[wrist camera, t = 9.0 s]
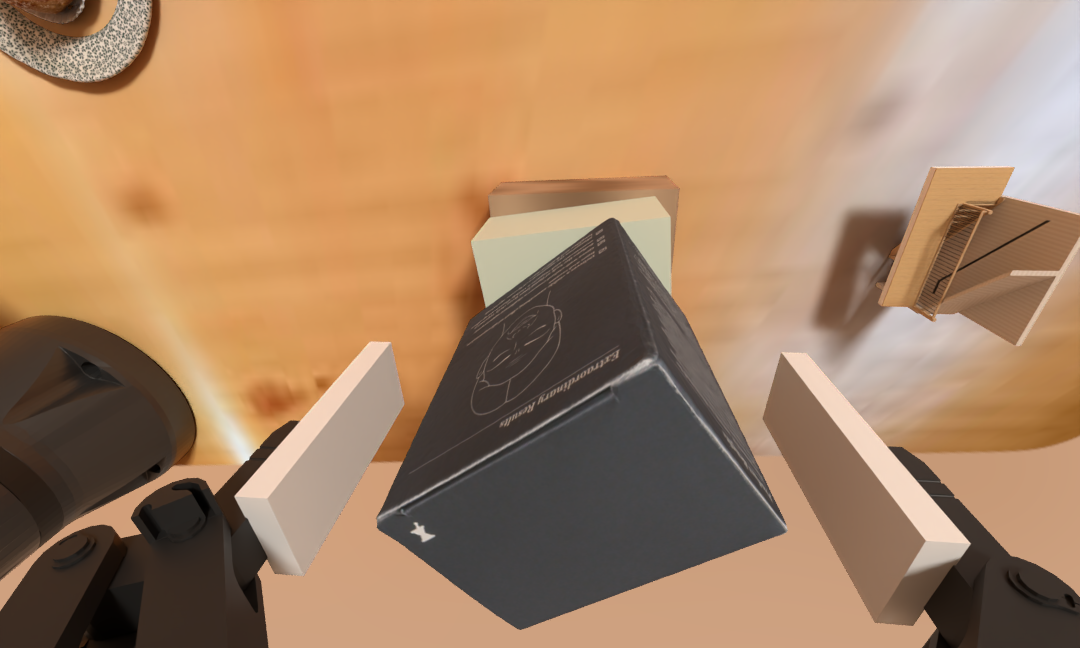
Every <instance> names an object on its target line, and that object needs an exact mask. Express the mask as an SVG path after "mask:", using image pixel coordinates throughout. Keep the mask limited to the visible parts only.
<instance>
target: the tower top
mask: <svg viewBox="0 0 1080 648" xmlns="http://www.w3.org/2000/svg"><path fill="white" fill-rule="evenodd" d="M609 218H615V219H616V220H618V221H619V222H620V224H621V226H622V227H623V228H624V229H625V231H626V233H627V234H628V236H629V237H630V239H631V240H632V241H633V243H634V244H635V245H636V247H637V248H638V250H639V251H640V253H641V254H642V256H643V257H644V258H645V260H646V261H647V263H648V264H649V266H650V267H651V269H652V270H653V271H654V273H655V274H656V275H657V277H658V278H659V280H660V281H661V283H662V284H663V286H664V287H665V288H666V290H667V291H668V292H669V294H670V296H671V217H670V215H669V214H668V213H667V211H666V210H665V209H664V207H663V206H662V205H661V203H660V202H659V201H658V199H657V198H656V197H655V196H651V197H644V198H636V199H628V200H621V201H613V202H605V203H598V204H590V205H582V206H575V207H567V208H559V209H552V210H544V211H536V212H529V213H521V214H514V215H506V216H498V217H491V218H489V219H488V220H487V222H486V223H485V224H484V225H483V227H482V228H481V229H480V230H479V232H478V233H477V234H476V235H475V237H474V238H473V239H472V241H471V245H472V249H473V253H474V258H475V262H476V266H477V271H478V275H479V279H480V284H481V288H482V293H483V297H484V301H485V306H486V307H488V306H489V305H491V304H492V303H493V302H495V301H496V300H497V299H499V298H500V297H502V296H503V295H504V294H505V293H507V292H508V291H510V290H511V289H512V288H514V287H515V286H516V285H518V284H519V283H520V282H522V281H523V280H524V279H526V278H527V277H529V276H530V275H531V274H533V273H534V272H536V271H537V270H538V269H539V268H541V267H542V266H544V265H545V264H546V263H548V262H549V261H550V260H552V259H553V258H555V257H556V256H557V255H558V254H560V253H561V252H563V251H564V250H565V249H567V248H568V247H570V246H571V245H572V244H574V243H575V242H576V241H578V240H579V239H581V238H582V237H584V236H585V235H586V234H587V233H588V232H590V231H591V230H593V229H594V228H596V227H597V226H598V225H600V224H601V223H603V222H604V221H606V220H607V219H609Z"/></svg>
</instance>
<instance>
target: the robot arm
mask: <svg viewBox="0 0 1080 648" xmlns="http://www.w3.org/2000/svg"><path fill="white" fill-rule="evenodd" d="M403 406H404V399H403V395H402V390H401V386H400V381H399V377H398V372H397V368H396V363H395V359H394V354H393V350H392V345H391V342H369V343H368V344H367V346H366V347H365V348H364V349H363V350H362V351H361V352H360V354H359V355H358V356H357V357H356V358H355V359H354V360H353V362H352V363H351V364H350V365H349V366H348V367H347V368H346V370H345V371H344V372H343V373H342V374H341V375H340V376H339V378H338V379H337V380H336V381H335V382H334V383H333V384H332V386H331V387H330V388H329V389H328V390H327V391H326V392H325V393H324V395H323V396H322V397H321V398H320V399H319V400H318V401H317V403H316V404H315V405H314V406H313V407H312V408H311V409H310V411H309V412H308V413H307V414H306V415H305V416H304V417H303V419H302V420H301V421H289V422H288V423H286V424H285V425H283V426H282V427H280V428H279V429H277V430H276V431H274V432H273V433H272V434H271V435H270V436H269V437H268V438H267V439H266V440H265V441H264V442H263V444H262V445H261V446H260V449H257V450H256V451H255V452H254V453H253V454H252V455H251V456H250V459H249V461H246V462H245V463H244V464H243V465H242V466H241V467H240V468H239V469H238V471H237V472H236V473H235V474H234V475H233V476H232V477H231V478H230V479H229V480H228V481H227V483H225V484H224V486H223V487H222V488H221V489H220V490H219V491H218V492H217V493H216V494H215V495H213V493H212V492H211V490H210V488H209V486H208V485H207V483H206V481H204V480H202V479H199V478H187V479H183V480H179V481H176V482H172V483H170V484H168V485H166V486H164V487H162V488H160V489H158V490H156V491H155V492H154V493H152V494H151V495H149V496H148V497H146V498H145V499H144V500H143V501H142V502H141V503H140V504H139V505H138V506H137V507H136V508H135V510H134V512H133V515H132V517H131V519H132V521H133V522H134V524H135V525H136V526H137V528H138V529H139V531H140V532H141V533H142V534H139V535H134V536H130V537H125V538H120V537H119V535H118V534H117V533H116V532H115V530H114V529H113V528H112V527H111V526H107V525H97V526H91V527H88V528H85V529H82V530H80V531H77V532H74V533H72V534H71V535H69V536H67V537H65V538H63V539H62V540H60V541H58V542H57V543H55V544H54V545H53V546H51V547H50V548H49V549H48V550H46V551H45V552H44V553H43V554H42V555H41V556H40V557H39V558H38V559H37V560H36V561H35V563H34V564H33V565H32V567H31V568H30V569H29V571H28V572H27V574H26V575H25V577H24V578H23V579H22V581H21V582H20V584H19V585H18V587H17V588H16V589H15V591H14V592H13V594H12V596H11V597H10V598H9V600H8V601H7V602H6V604H5V605H4V607H3V608H2V610H1V611H0V648H268V639H267V631H266V622H265V613H264V605H263V595H262V587H261V581H260V578H259V576H258V574H257V573H258V571H259V570H260V568H261V567H262V565H263V564H264V562H265V561H266V559H267V560H268V562H269V564H270V566H271V568H272V569H273V571H274V573H275V574H286V575H298V576H304V575H305V573H306V571H307V570H308V568H309V566H310V565H311V563H312V561H313V560H314V558H315V556H316V554H317V553H318V551H319V549H320V547H321V546H322V544H323V542H324V541H325V539H326V537H327V535H328V534H329V532H330V530H331V529H332V527H333V525H334V524H335V522H336V520H337V519H338V517H339V515H340V513H341V512H342V510H343V508H344V507H345V505H346V503H347V501H348V500H349V498H350V496H351V495H352V493H353V491H354V489H355V488H356V486H357V484H358V482H359V481H360V479H361V478H362V475H363V474H364V472H365V471H366V469H367V467H368V466H369V464H370V462H371V461H372V459H373V457H374V455H375V454H376V452H377V450H378V449H379V447H380V445H381V444H382V442H383V440H384V438H385V437H386V435H387V433H388V432H389V430H390V428H391V426H392V425H393V423H394V421H395V420H396V418H397V416H398V415H399V413H400V411H401V409H402V408H403ZM763 420H764V422H765V424H766V426H767V428H768V430H769V431H770V433H771V435H772V437H773V439H774V440H775V442H776V444H777V446H778V448H779V449H780V451H781V453H782V455H783V457H784V458H785V460H786V462H787V464H788V466H789V468H790V469H791V471H792V473H793V475H794V477H795V479H796V480H797V482H798V484H799V485H800V488H801V489H802V491H803V493H804V495H805V497H806V498H807V500H808V502H809V504H810V506H811V508H812V509H813V511H814V513H815V515H816V517H817V518H818V520H819V522H820V524H821V525H822V527H823V529H824V531H825V533H826V535H827V536H828V538H829V540H830V542H831V544H832V546H833V547H834V549H835V551H836V553H837V555H838V557H839V558H840V560H841V562H842V564H843V566H844V567H845V569H846V571H847V573H848V575H849V577H850V578H851V580H852V582H853V584H854V586H855V587H856V589H857V591H858V593H859V595H860V596H861V598H862V600H863V602H864V604H865V606H866V607H867V609H868V611H869V612H870V615H871V616H872V618H873V620H874V622H875V623H886V624H897V625H909V626H913V625H914V624H915V622H916V621H917V619H918V618H919V617H920V615H921V614H922V612H923V611H924V610H925V611H926V612H927V614H928V615H929V617H930V618H931V620H932V621H933V623H934V624H935V626H936V627H937V629H936V630H935V632H934V633H933V634H932V635H931V637H930V638H929V639H928V641H927V642H926V643H925V645H924V646H923V647H922V648H1080V597H1079V596H1078V595H1077V594H1076V593H1075V591H1074V590H1073V589H1072V588H1070V587H1069V586H1068V585H1067V584H1065V583H1064V582H1063V581H1062V580H1060V579H1059V578H1057V576H1055V575H1054V574H1052V573H1050V572H1048V571H1047V570H1045V569H1043V568H1041V567H1040V566H1038V565H1036V564H1034V563H1031V562H1028V561H1026V560H1023V559H1020V558H1018V557H1012V556H1010V555H1009V554H1008V552H1007V551H1006V550H1005V549H1004V548H1003V547H1002V546H1001V545H1000V544H999V543H998V542H997V541H996V540H995V538H994V537H993V536H992V535H991V534H990V533H989V532H988V531H987V530H986V529H985V528H984V527H983V526H982V524H981V523H980V522H979V521H978V520H977V519H976V518H975V517H974V516H973V515H972V514H971V513H970V511H969V510H967V508H966V507H965V506H964V505H963V504H962V503H961V502H960V501H959V500H958V499H955V498H954V494H953V493H952V492H951V491H950V490H949V489H948V488H947V487H946V486H945V485H944V484H941V482H940V479H939V478H938V477H937V476H936V475H935V474H934V473H933V472H932V470H931V469H930V468H929V467H928V466H927V465H926V464H925V463H924V462H922V461H921V460H920V459H918V458H917V457H915V456H914V455H912V454H911V453H909V452H908V451H907V450H905V449H904V448H902V447H888V446H886V445H885V444H884V443H883V441H882V440H881V439H880V438H879V437H878V436H877V434H876V433H875V432H874V431H873V430H872V429H871V427H870V426H869V425H868V424H867V423H866V422H865V420H864V419H863V418H862V417H861V416H860V415H859V414H858V412H857V411H856V410H855V409H854V408H853V407H852V405H851V404H850V403H849V402H848V401H847V400H846V398H845V397H844V396H843V395H842V394H841V393H840V392H839V390H838V389H837V388H836V387H835V386H834V385H833V383H832V382H831V381H830V380H829V379H828V378H827V376H826V375H825V374H824V373H823V372H822V371H821V369H820V368H819V367H818V366H817V365H816V364H815V363H814V361H813V360H812V359H811V358H810V357H809V356H808V354H807V353H783V352H781V356H780V359H779V363H778V366H777V370H776V373H775V377H774V380H773V384H772V387H771V391H770V394H769V398H768V401H767V405H766V408H765V412H764V416H763ZM194 437H195V425H194V419H193V416H192V413H191V410H190V408H189V405H188V403H187V401H186V400H185V398H184V396H183V395H182V393H181V392H180V390H179V389H178V387H177V386H176V385H175V383H174V382H173V381H172V380H171V379H170V377H169V376H168V375H167V374H166V373H165V372H164V371H163V370H162V369H161V368H160V367H159V366H158V365H157V364H156V363H155V362H153V361H152V360H151V359H150V358H149V357H148V356H146V355H145V354H144V353H142V352H141V351H140V350H138V349H137V348H135V347H134V346H132V345H131V344H129V343H128V342H126V341H125V340H123V339H121V338H119V337H118V336H116V335H114V334H112V333H110V332H108V331H106V330H104V329H101V328H99V327H97V326H94V325H91V324H89V323H86V322H82V321H79V320H75V319H71V318H66V317H60V316H35V317H30V318H26V319H24V320H21V321H19V322H16V323H14V324H11V325H9V326H6V327H4V328H1V329H0V580H2V579H3V578H4V577H5V576H6V575H7V574H9V573H10V572H11V571H12V570H13V569H15V568H16V567H17V566H18V565H19V564H21V563H22V562H23V561H24V560H25V559H27V558H28V557H29V556H30V555H31V554H32V553H34V552H35V551H36V550H37V549H38V548H39V547H41V546H42V545H43V544H44V543H45V542H47V541H48V540H49V539H51V538H52V537H53V536H54V535H55V534H57V533H58V532H59V531H60V530H62V529H63V528H64V527H65V526H67V525H68V524H70V523H71V522H73V521H74V520H76V519H78V518H80V517H82V516H84V515H86V514H88V513H90V512H91V511H94V510H96V509H98V508H100V507H102V506H104V505H105V504H107V503H109V502H111V501H113V500H115V499H117V498H119V497H121V496H123V495H125V494H127V493H129V492H131V491H133V490H135V489H137V488H139V487H141V486H143V485H145V484H147V483H149V482H151V481H153V480H155V479H156V478H158V477H159V476H161V475H162V474H164V473H165V472H166V471H168V470H169V469H170V468H171V467H172V466H173V465H174V464H176V463H177V462H178V461H179V460H180V459H181V458H182V457H183V456H184V455H186V453H187V452H188V451H189V450H190V448H191V446H192V444H193V442H194Z"/></svg>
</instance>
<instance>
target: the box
mask: <svg viewBox="0 0 1080 648" xmlns="http://www.w3.org/2000/svg"><path fill="white" fill-rule="evenodd" d="M377 528H378V529H379V530H380V531H381V532H383V533H385V534H386V535H388V536H390V537H391V538H393V539H394V540H396V541H398V542H399V543H400V544H402V545H403V546H405V547H406V548H407V549H408V550H410V551H411V552H413V553H414V554H415V555H416V556H418V557H419V558H421V559H422V560H424V562H426V563H427V564H428V565H430V566H431V567H432V568H434V569H435V570H436V571H438V572H439V573H440V574H442V575H443V576H444V577H446V578H447V579H448V580H449V581H451V582H452V583H453V584H454V585H456V586H457V587H459V588H460V589H461V590H463V591H464V592H465V593H467V594H468V595H469V596H471V597H472V598H473V599H475V600H477V601H478V602H479V603H480V604H482V605H483V606H484V607H486V608H487V609H489V610H490V611H492V612H493V613H494V614H496V615H497V616H499V617H500V618H502V619H503V620H505V621H506V622H508V623H509V624H511V625H512V626H514V627H515V628H517V629H520V630H521V629H524V628H528V627H530V626H533V625H536V624H538V623H541V622H544V621H546V620H549V619H552V618H554V617H557V616H560V615H562V614H565V613H568V612H571V611H574V610H576V609H579V608H582V607H584V606H587V605H590V604H592V603H595V602H598V601H601V600H604V599H606V598H609V597H612V596H615V595H617V594H620V593H623V592H625V591H628V590H631V589H634V588H636V587H639V586H642V585H644V584H647V583H650V582H653V581H655V580H658V579H660V578H663V577H666V576H669V575H672V574H675V573H677V572H680V571H683V570H686V569H688V568H691V567H694V566H696V565H700V564H702V563H704V562H707V561H710V560H712V559H715V558H718V557H721V556H724V555H726V554H729V553H732V552H734V551H737V550H740V549H743V548H745V547H748V546H751V545H754V544H756V543H759V542H762V541H765V540H767V539H770V538H773V537H775V536H779V535H782V534H784V533H786V532H787V527H786V523H785V521H784V519H783V516H782V514H781V512H780V510H779V508H778V506H777V504H776V502H775V500H774V498H773V496H772V494H771V492H770V490H769V487H768V485H767V483H766V481H765V479H764V477H763V474H762V473H761V471H760V469H759V466H758V465H757V463H756V461H755V458H754V456H753V454H752V452H751V450H750V448H749V446H748V444H747V442H746V439H745V437H744V435H743V433H742V432H741V430H740V428H739V425H738V423H737V421H736V419H735V417H734V415H733V413H732V411H731V409H730V407H729V405H728V403H727V401H726V399H725V397H724V395H723V393H722V390H721V388H720V386H719V384H718V382H717V380H716V378H715V376H714V374H713V372H712V370H711V368H710V366H709V364H708V362H707V360H706V358H705V356H704V354H703V351H702V349H701V348H700V346H699V343H698V341H697V339H696V337H695V335H694V333H693V331H692V329H691V327H690V324H689V323H688V321H687V319H686V317H685V315H684V314H683V312H682V311H681V310H680V308H679V307H678V305H677V304H676V303H675V301H674V299H673V298H672V297H671V296H670V294H669V292H668V291H667V290H666V288H665V287H664V286H663V284H662V283H661V281H660V280H659V278H658V277H657V275H656V274H655V273H654V271H653V270H652V269H651V267H650V266H649V264H648V263H647V261H646V260H645V258H644V257H643V256H642V254H641V253H640V251H639V250H638V248H637V247H636V245H635V244H634V243H633V241H632V240H631V239H630V237H629V236H628V234H627V233H626V231H625V229H624V228H623V227H622V226H621V224H620V222H619V221H618V220H616V219H615V218H609V219H607V220H606V221H604V222H603V223H601V224H600V225H598V226H597V227H596V228H594V229H593V230H591V231H590V232H588V233H587V234H586V235H585V236H584V237H582V238H581V239H579V240H578V241H576V242H575V243H574V244H572V245H571V246H570V247H568V248H567V249H565V250H564V251H563V252H561V253H560V254H558V255H557V256H556V257H555V258H553V259H552V260H550V261H549V262H548V263H546V264H545V265H544V266H542V267H541V268H539V269H538V270H537V271H536V272H534V273H533V274H531V275H530V276H529V277H527V278H526V279H524V280H523V281H522V282H520V283H519V284H518V285H516V286H515V287H514V288H512V289H511V290H510V291H508V292H507V293H505V294H504V295H503V296H502V297H500V298H499V299H497V300H496V301H495V302H493V303H492V304H491V305H489V306H488V307H486V308H485V309H484V310H482V311H481V312H480V313H478V314H477V315H476V316H475V317H473V318H472V319H471V320H470V321H469V323H468V326H467V328H466V330H465V332H464V335H463V336H462V338H461V340H460V342H459V345H458V347H457V349H456V351H455V353H454V355H453V358H452V360H451V362H450V364H449V366H448V368H447V371H446V372H445V374H444V376H443V379H442V381H441V382H440V385H439V387H438V389H437V392H436V394H435V396H434V398H433V400H432V402H431V404H430V406H429V408H428V411H427V412H426V415H425V417H424V418H423V420H422V423H421V425H420V427H419V429H418V432H417V434H416V436H415V438H414V439H413V442H412V444H411V447H410V449H409V451H408V453H407V455H406V458H405V459H404V461H403V463H402V465H401V467H400V469H399V472H398V474H397V476H396V478H395V480H394V483H393V485H392V487H391V489H390V491H389V494H388V496H387V498H386V501H385V503H384V505H383V507H382V509H381V511H380V512H379V514H378V516H377Z"/></svg>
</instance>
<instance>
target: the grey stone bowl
mask: <svg viewBox="0 0 1080 648" xmlns="http://www.w3.org/2000/svg"><path fill="white" fill-rule="evenodd" d="M84 2H85V0H0V49H1V50H2V51H3V52H5V53H6V54H8V55H9V56H11V57H13V58H14V59H16V60H18V61H20V62H22V63H24V64H26V65H28V66H30V67H32V68H34V69H36V70H38V71H40V72H42V73H44V74H46V75H50V76H53V77H56V78H61V79H66V80H70V81H75V82H86V83H89V82H98V81H103V80H107V79H109V78H112V77H113V76H115V75H117V74H119V73H121V72H122V71H123V70H124V69H126V67H128V66H130V64H131V63H132V62H133V61H134V60H135V58H136V57H137V56H138V55H139V53H140V52H141V51H142V47H143V46H144V42H145V40H146V38H147V36H148V30H149V27H150V23H151V17H152V0H118V3H117V6H116V9H115V12H114V15H113V17H112V19H111V20H110V21H109V23H108V24H107V25H106V26H105V27H104V28H103V29H102V30H100V31H99V32H97V33H95V34H92V35H90V36H85V37H69V36H64V35H60V34H56V33H54V32H51V31H48V30H46V29H44V28H43V27H40V26H39V25H37V24H35V23H33V22H32V21H30V20H29V19H27V18H26V17H25V16H23V15H22V14H21V13H20V12H18V11H17V10H16V9H15V8H14V7H12V6H11V5H10V4H12V5H14V6H17V7H19V8H21V9H22V10H24V11H26V12H28V13H30V14H33V15H35V16H36V17H39V18H41V19H44V20H47V21H50V22H54V23H59V24H60V23H61V24H64V23H68V22H70V21H74V19H75V18H76V17H78V15H79V14H80V13H81V12H82V10H83V8H85V5H84ZM68 5H73V7H72V8H71V9H68Z"/></svg>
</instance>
